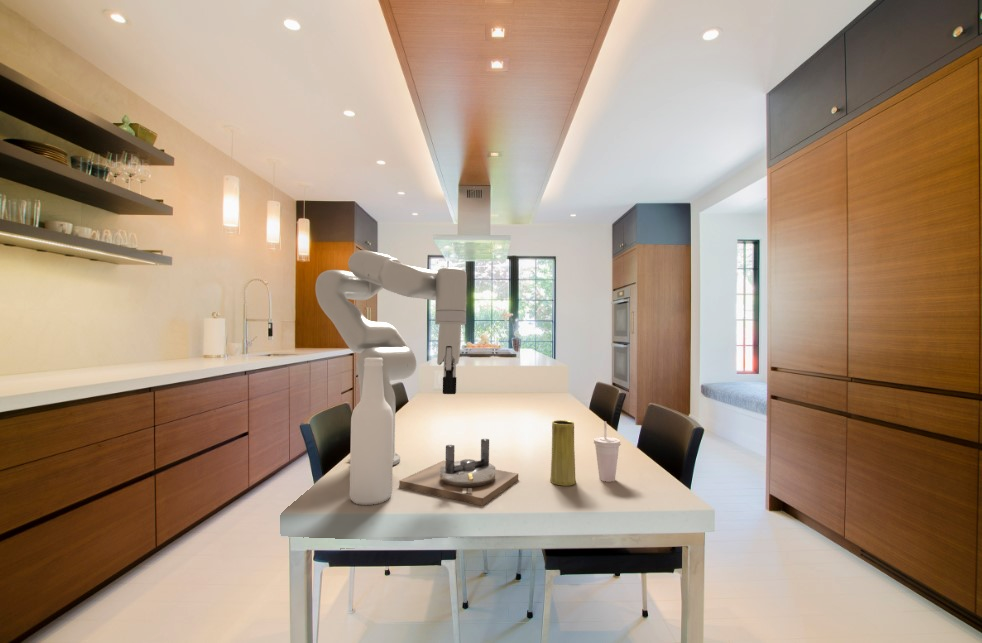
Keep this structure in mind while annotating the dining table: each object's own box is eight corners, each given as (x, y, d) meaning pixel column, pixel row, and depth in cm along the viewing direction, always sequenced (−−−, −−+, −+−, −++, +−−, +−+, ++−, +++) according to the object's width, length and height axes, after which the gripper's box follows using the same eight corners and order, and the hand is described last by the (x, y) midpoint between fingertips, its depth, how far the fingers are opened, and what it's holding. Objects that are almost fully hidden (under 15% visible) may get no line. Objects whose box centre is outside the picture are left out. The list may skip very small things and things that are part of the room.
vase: (575, 487, 97) (575, 425, 98) (549, 485, 99) (549, 424, 99) (575, 478, 103) (575, 420, 104) (550, 476, 105) (551, 419, 105)
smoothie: (605, 473, 108) (605, 418, 108) (626, 480, 102) (626, 422, 103) (588, 477, 104) (588, 421, 105) (608, 485, 99) (608, 425, 99)
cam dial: (463, 493, 88) (464, 454, 89) (429, 475, 100) (430, 441, 100) (510, 480, 96) (511, 445, 96) (474, 465, 108) (474, 433, 108)
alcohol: (390, 505, 86) (392, 359, 87) (345, 507, 85) (348, 359, 86) (393, 489, 95) (395, 357, 96) (353, 491, 94) (356, 357, 95)
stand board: (399, 487, 96) (399, 479, 97) (443, 466, 112) (443, 459, 112) (482, 505, 86) (482, 497, 86) (518, 479, 102) (518, 472, 102)
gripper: (438, 319, 110) (436, 389, 110) (432, 317, 95) (430, 398, 95) (466, 320, 110) (465, 389, 110) (465, 317, 95) (463, 398, 95)
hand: (449, 393), depth 102 cm, fingers closed
